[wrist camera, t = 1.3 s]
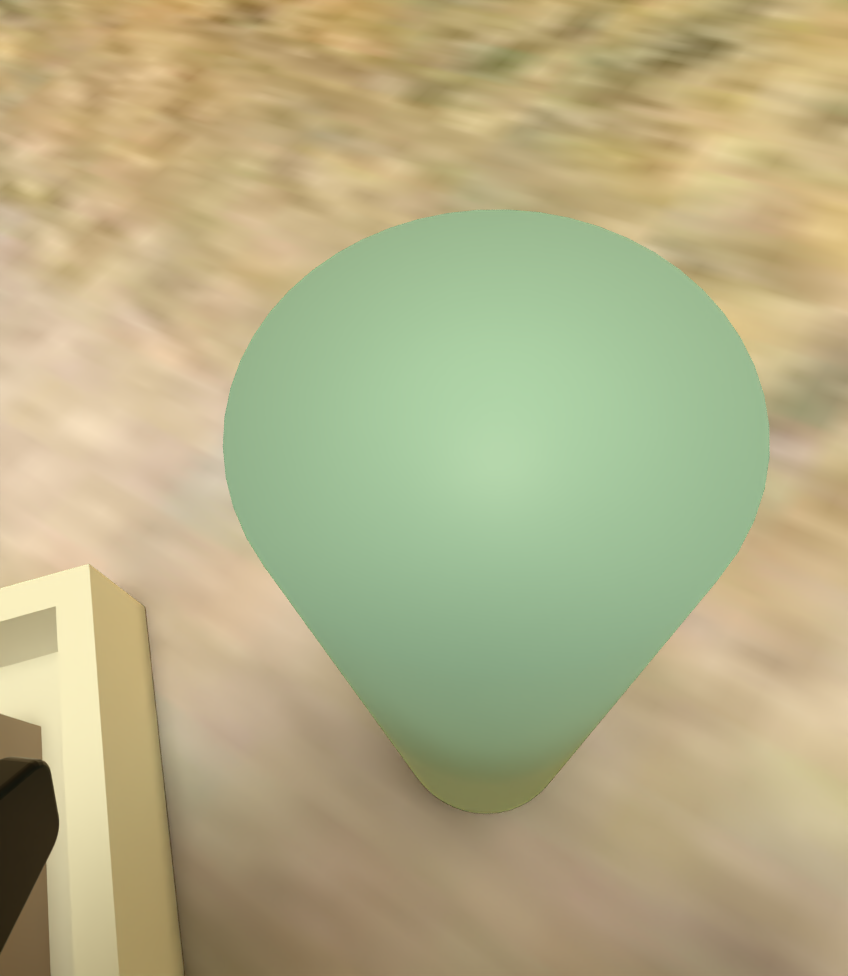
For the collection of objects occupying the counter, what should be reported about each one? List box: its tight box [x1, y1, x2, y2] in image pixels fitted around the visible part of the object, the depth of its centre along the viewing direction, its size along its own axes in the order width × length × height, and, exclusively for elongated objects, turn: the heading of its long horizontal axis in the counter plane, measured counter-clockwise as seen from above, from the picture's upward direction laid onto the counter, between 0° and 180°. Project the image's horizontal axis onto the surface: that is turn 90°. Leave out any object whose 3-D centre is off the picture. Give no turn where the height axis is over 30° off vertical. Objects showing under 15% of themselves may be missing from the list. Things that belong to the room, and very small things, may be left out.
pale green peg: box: [223, 210, 769, 814], centre depth 12 cm, size 4×4×14 cm
